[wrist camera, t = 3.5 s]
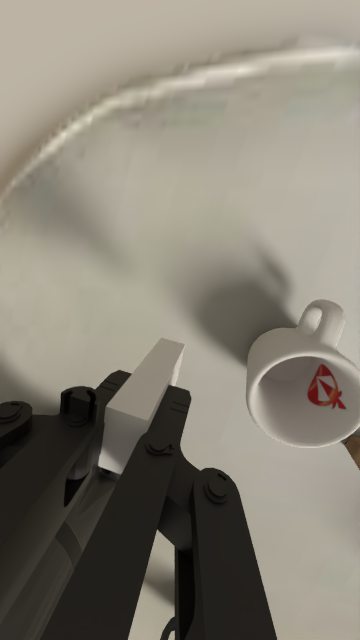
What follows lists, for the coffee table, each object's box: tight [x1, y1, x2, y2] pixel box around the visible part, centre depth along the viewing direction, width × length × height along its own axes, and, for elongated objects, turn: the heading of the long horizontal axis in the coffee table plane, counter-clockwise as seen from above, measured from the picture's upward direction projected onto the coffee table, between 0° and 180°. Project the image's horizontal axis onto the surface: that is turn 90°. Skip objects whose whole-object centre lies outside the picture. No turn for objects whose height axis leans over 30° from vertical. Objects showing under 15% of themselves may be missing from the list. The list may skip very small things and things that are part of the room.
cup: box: [246, 300, 360, 448], centre depth 19 cm, size 11×8×8 cm
